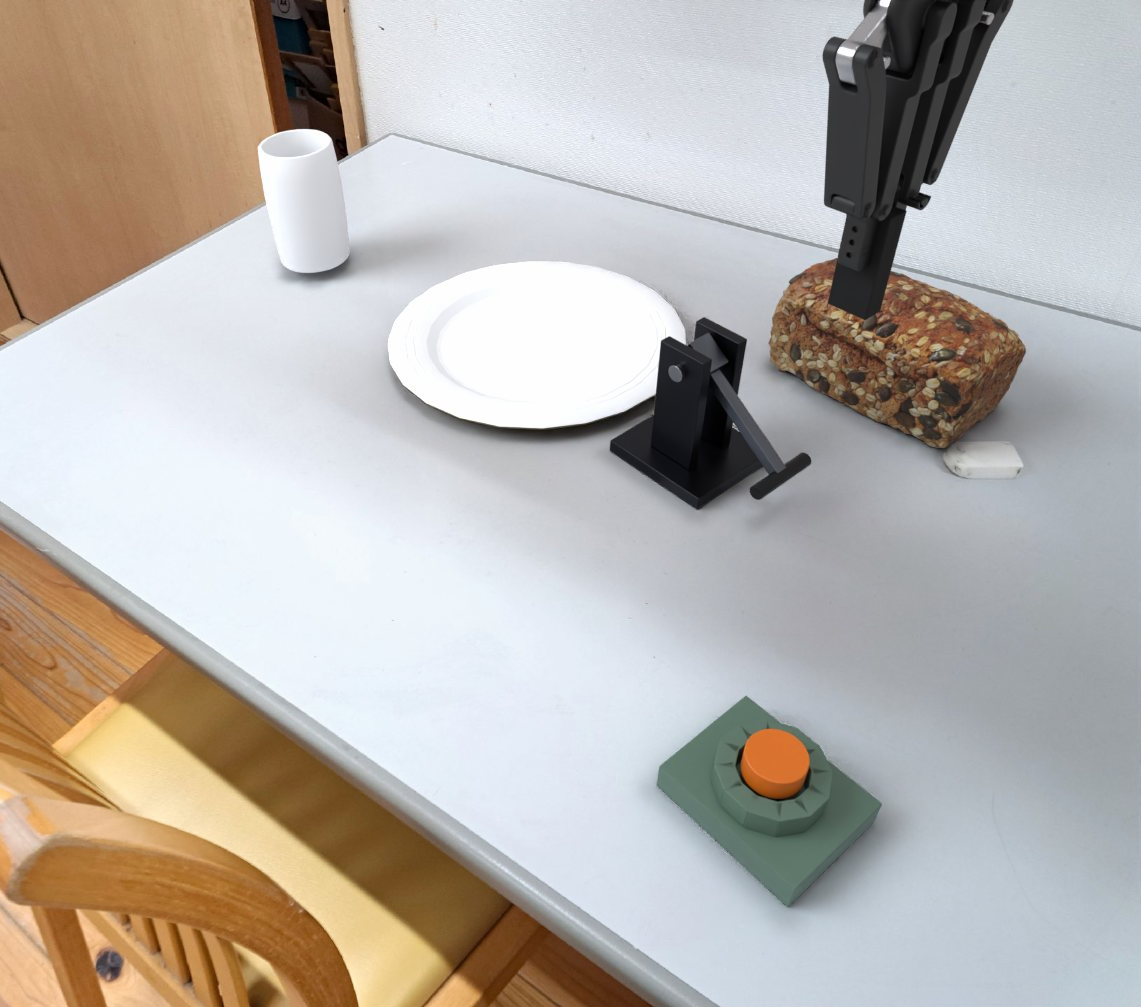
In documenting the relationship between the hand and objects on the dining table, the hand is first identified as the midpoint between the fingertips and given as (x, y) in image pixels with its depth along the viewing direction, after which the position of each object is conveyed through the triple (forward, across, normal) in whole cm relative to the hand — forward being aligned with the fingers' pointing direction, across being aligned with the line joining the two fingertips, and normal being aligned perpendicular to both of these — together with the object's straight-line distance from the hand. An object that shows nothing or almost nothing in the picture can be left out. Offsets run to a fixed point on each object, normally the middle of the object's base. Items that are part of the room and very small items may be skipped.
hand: (853, 307), depth 59 cm
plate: (+21, -3, -34) cm, 40 cm away
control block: (+22, +18, +12) cm, 31 cm away
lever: (+15, -2, -9) cm, 18 cm away
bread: (+21, -22, -8) cm, 32 cm away
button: (+18, +18, +12) cm, 29 cm away
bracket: (+21, -2, -13) cm, 25 cm away
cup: (+21, +4, -64) cm, 67 cm away
